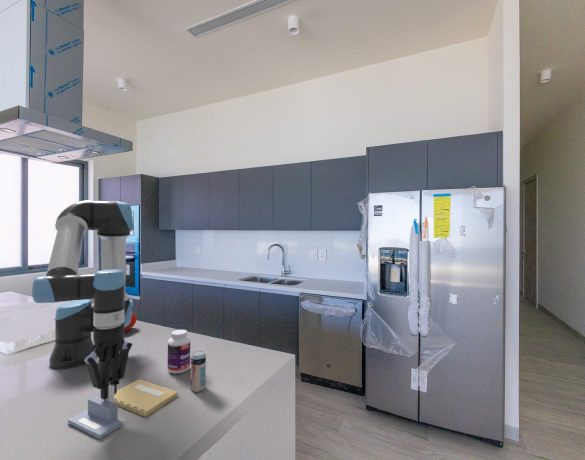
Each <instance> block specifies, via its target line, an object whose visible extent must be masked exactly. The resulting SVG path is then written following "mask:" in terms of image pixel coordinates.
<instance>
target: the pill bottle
mask: <svg viewBox="0 0 585 460" xmlns="http://www.w3.org/2000/svg"><path fill="white" fill-rule="evenodd" d="M189 369H191V338H190V337H189V336H188V330H186V329H175V330H173V331H172V332H171V337H170V338H169V339H168V341H167V372H168V373H170V374H173V375H174V374H176V375H177V374H183V373H185V372H187V371H188V370H189Z"/></svg>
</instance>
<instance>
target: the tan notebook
mask: <svg viewBox="0 0 585 460" xmlns="http://www.w3.org/2000/svg"><path fill="white" fill-rule="evenodd" d="M178 396H179V394H178V391H177V390H173V389H171V388H168V387H164V386H160V385H158V384H156V383H152V382H149V381H146V380H144V379H136V380H135V381H132V382H130V383H129V384H127V385H125V386H124V387H120V389H117V393H116V394H115V395H114V404H117V405H118V407H120V408H123V409H124V410H127V411H130V412H133V413H135V414H137V415H140V416H142V417H144V418H145V417H147V416H149V415H150V414H152V413H153V412H155V411H156V410H157V409H159V408H161V407H162V406H165V404H167V403H168V402H170V401H171V400H173V399H175V398H176V397H178Z"/></svg>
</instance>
